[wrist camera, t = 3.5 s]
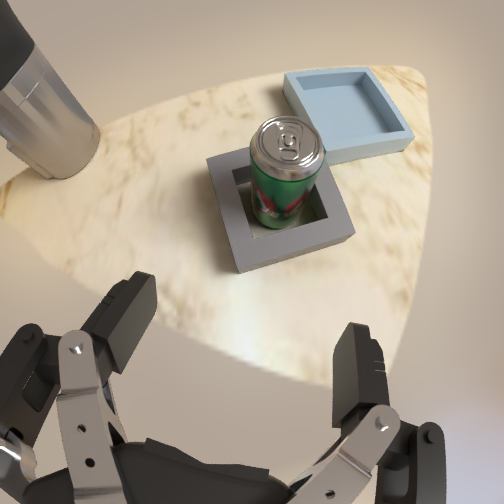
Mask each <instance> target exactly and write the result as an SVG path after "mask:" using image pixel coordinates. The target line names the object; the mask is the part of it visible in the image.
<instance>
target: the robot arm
mask: <svg viewBox="0 0 504 504" xmlns="http://www.w3.org/2000/svg"><path fill="white" fill-rule="evenodd" d="M0 135H1V136H2V137H3V138H5V139H6V140H7V149H8V150H9V151H10V152H12V153H13V154H14V155H15V156H17V157H18V158H19V159H21V160H22V161H24V162H25V163H26V164H27V165H29V166H30V167H31V168H33V169H34V170H36V171H37V172H38V173H40V174H41V175H42V176H44V177H45V178H47V179H50V178H52V177H55V178H57V179H65V178H69V177H71V176H73V175H75V174H76V173H77V172H79V171H80V170H81V169H82V168H83V167H84V166H86V164H87V163H88V162H89V161H90V160H91V158H92V156H93V155H94V153H95V151H96V149H97V147H98V144H99V139H100V133H99V129H98V127H97V125H96V124H95V123H94V122H93V120H92V119H91V117H89V115H88V114H87V113H86V111H85V110H84V109H83V108H82V106H81V105H80V103H79V102H78V101H77V100H76V98H75V97H74V96H73V94H72V93H71V92H70V90H69V89H68V88H67V86H66V85H65V84H64V82H63V81H62V80H61V78H60V77H59V76H58V74H57V73H56V72H55V70H54V69H53V68H52V66H51V65H50V63H49V62H48V61H47V59H46V58H45V57H44V55H43V54H42V52H41V51H40V49H39V48H38V47H37V45H36V44H35V42H34V41H33V40H32V38H31V37H30V35H29V34H28V33H27V31H26V30H25V29H24V27H23V26H22V24H21V23H20V22H19V20H18V19H17V17H16V16H15V14H14V13H13V11H12V9H11V7H10V5H9V4H8V2H7V0H0ZM156 308H157V293H156V282H155V277H154V275H151V274H147V273H144V272H140V271H136V272H135V273H134V274H133V275H132V277H131V278H130V279H129V280H128V281H127V280H124V279H123V280H122V281H120V282H119V283H117V284H115V285H114V286H113V287H112V288H111V289H110V291H109V292H108V293H107V295H106V296H105V297H104V298H103V300H102V301H101V303H99V305H98V306H97V307H96V309H95V310H94V311H93V313H92V314H91V315H90V317H89V318H88V319H87V321H86V322H85V323H84V325H83V326H82V327H81V329H80V330H73V331H70V332H68V333H66V334H65V335H63V336H62V337H61V336H53V335H46V334H44V333H43V331H42V329H41V328H40V327H39V326H38V325H37V324H32V323H31V324H26V325H24V326H22V327H21V328H20V329H19V330H18V331H17V332H16V334H15V335H14V337H13V338H12V339H11V341H10V342H9V344H8V345H7V347H6V348H5V350H4V351H3V353H2V354H1V356H0V488H2V489H3V490H4V491H5V492H6V493H8V494H9V495H10V496H11V497H13V498H14V499H15V500H17V501H18V502H19V503H21V504H351V503H352V502H353V501H354V500H355V499H356V497H357V496H358V495H359V494H360V493H361V491H362V490H363V489H364V488H365V487H366V485H367V484H368V482H369V481H370V479H371V477H372V475H371V474H370V473H371V471H372V469H373V468H374V466H375V465H378V473H377V486H376V496H375V504H446V455H445V440H444V434H443V431H442V429H441V428H440V426H438V425H437V424H436V423H433V422H426V423H424V424H422V425H421V426H420V427H418V426H415V425H412V424H409V423H407V422H404V421H402V420H400V418H399V415H398V414H397V412H396V411H395V410H394V409H393V408H391V407H390V403H389V394H388V385H387V378H386V372H385V364H384V357H383V351H382V349H381V347H380V345H379V343H378V342H377V340H375V339H371V337H370V331H369V327H368V326H367V325H363V324H358V323H352V322H350V323H349V324H348V325H347V327H346V329H345V331H344V332H343V334H342V336H341V338H340V339H339V341H338V343H337V344H336V346H335V349H334V353H333V412H332V427H333V428H341V435H340V436H339V437H338V438H337V439H336V440H335V441H334V442H333V443H332V444H331V446H330V447H329V448H328V449H327V450H326V451H325V452H324V453H323V454H322V455H321V456H320V457H319V458H318V459H317V460H316V461H315V462H314V463H313V464H312V465H311V466H310V467H309V468H308V469H307V470H305V471H304V472H303V473H302V474H300V475H299V476H298V477H297V478H296V479H294V481H292V482H291V483H290V484H289V485H288V486H287V485H286V484H285V483H283V482H282V481H280V480H278V479H277V478H275V477H273V476H271V475H269V469H263V468H256V467H251V466H245V465H240V464H204V463H202V462H200V461H198V460H196V459H195V458H193V457H191V456H189V455H187V454H186V453H184V452H182V451H181V450H179V449H177V448H175V447H172V446H169V445H166V444H163V443H160V442H158V441H155V440H152V439H150V438H147V439H146V442H128V441H127V438H126V434H125V432H124V429H123V427H122V424H121V422H120V420H119V417H118V413H117V409H116V405H115V401H114V397H113V393H112V389H111V384H110V379H109V377H110V375H111V373H112V371H114V372H116V373H119V374H122V372H123V370H124V368H125V366H126V364H127V362H128V361H129V359H130V357H131V355H132V354H133V351H134V350H135V348H136V346H137V345H138V342H139V341H140V339H141V337H142V336H143V334H144V332H145V330H146V328H147V327H148V325H149V323H150V322H151V320H152V318H153V316H154V315H155V312H156ZM32 372H33V373H32ZM30 376H31V377H30ZM29 377H30V378H29ZM28 379H29V380H28ZM25 384H26V385H25ZM24 386H25V387H24ZM23 388H24V389H23ZM60 389H61V394H58V392H59V390H60ZM57 394H58V395H57ZM56 396H57V399H56V402H57V411H58V418H59V425H60V431H61V436H62V441H63V446H64V451H65V455H66V460H67V464H68V467H67V468H64V469H62V470H59V471H57V472H54V473H52V474H49V475H46V476H44V477H41V478H38V479H36V477H35V473H34V468H36V466H37V461H36V458H35V454H34V451H33V449H32V448H33V446H34V444H35V441H36V439H37V437H38V434H39V432H40V430H41V427H42V425H43V423H44V421H45V419H46V417H47V415H48V412H49V410H50V408H51V406H52V404H53V402H54V400H55V398H56Z"/></svg>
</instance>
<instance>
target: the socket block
mask: <svg viewBox="0 0 504 504" xmlns="http://www.w3.org/2000/svg"><path fill="white" fill-rule="evenodd" d="M206 161H207V164H208V168H209V171H210V175H211V179H212V182H213V186H214V189H215V193H216V197H217V200H218V204H219V207H220V211H221V214H222V218H223V221H224V225H225V228H226V232H227V235H228V238H229V242H230V245H231V249H232V252H233V256H234V259H235V262H236V266H237V269H238V271H239V273H240V274H241V273H244V272H248V271H251V270H254V269H258V268H261V267H264V266H268V265H271V264H274V263H277V262H281V261H284V260H287V259H291V258H294V257H297V256H300V255H303V254H307V253H310V252H313V251H316V250H320V249H323V248H326V247H329V246H332V245H335V244H339V243H342V242H345V241H346V240H347V239H348V238H350V237H351V236H352V235H353V234H355V233H356V232H355V229H354V227H353V224H352V221H351V219H350V216H349V214H348V211H347V209H346V206H345V204H344V201H343V199H342V196H341V194H340V192H339V189H338V187H337V185H336V182H335V180H334V178H333V175H332V173H331V171H330V169H329V166H328V164H327V162H326V160H325V158H324V162H323V165H322V167H321V169H320V172H319V174H318V176H317V178H316V181H315V183H314V185H313V187H312V190H311V192H310V194H309V196H308V198H309V200H310V203H311V205H312V208H313V211H314V213H315V216H316V219H317V221H315V222H312V223H309V224H305V225H302V226H298V227H295V228H291V229H288V230H284V231H281V232H278V233H274V234H271V235H267V236H264V237H261V238H257V239H254V240H253V237H252V234H251V231H250V227H249V224H248V221H247V218H246V215H245V211H244V208H243V205H242V202H241V199H240V196H239V192H238V189H237V186H236V185H238V184H242V183H245V182H249V181H251V176H250V147H247V148H243V149H239V150H235V151H232V152H228V153H225V154H221V155H217V156H214V157H211V158H207V159H206Z"/></svg>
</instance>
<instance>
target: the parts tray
mask: <svg viewBox="0 0 504 504" xmlns="http://www.w3.org/2000/svg"><path fill="white" fill-rule="evenodd" d="M283 94H284V95H285V97H286V99H287V101H288V103H289V105H290V107H291V109H292V111H293V113H294V115H295V117H299V118H301V119H304V120H306V121H307V122H309V123H310V124H312V125H313V126H314V127H315V128H316V130H317V131H318V132H319V134H320V136H321V139H322V144H323V147H324V152H325V160H326V162H327V164H328V166H331V165H335V164H340V163H344V162H349V161H354V160H359V159H364V158H369V157H374V156H379V155H385V154H390V153H396V152H401V151H404V149H405V148H406V147H407V146H408V145H409V144H410V142H411V141H412V140H413V139H414V138H415V136H414V134H413V132H412V131H411V129H410V127H409V126H408V124H407V122H406V121H405V119H404V118H403V116H402V114H401V113H400V111H399V110H398V108H397V107H396V105H395V104H394V102H393V101H392V99H391V98H390V96H389V95H388V93H387V92H386V90H385V89H384V88H383V86H382V85H381V83H380V82H379V81H378V79H377V78H376V77H375V75H374V74H373V73H372V71H371V70H370V69H369V68H368V67H344V68H328V69H317V70H307V71H298V72H291V73H285V75H284V84H283Z"/></svg>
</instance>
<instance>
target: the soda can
mask: <svg viewBox="0 0 504 504" xmlns="http://www.w3.org/2000/svg"><path fill="white" fill-rule="evenodd" d="M324 158H325V152H324V147H323V144H322V139H321V136H320V134H319V132H318V131H317V130H316V128H315V127H314V126H313V125H312V124H310V123H309V122H307V121H306V120H304V119H301V118H299V117H295V116H289V115H283V116H276V117H273V118H270V119H269V120H267V121H265V122H264V123H263V124H262V125H261V126H260V127H259V129H258V130H257V132H256V133H255V134H254V136H253V137H252V139H251V142H250V176H251V201H252V210H253V213H254V215H255V217H256V218H257V219H258V220H259V221H260V222H261V223H262V224H264V225H266V226H268V227H271V228H285V227H288V226H290V225H292V224H293V223H294V222H295V221H296V220H297V219H298V218H299V216H300V214H301V212H302V210H303V208H304V205H305V203H306V201H307V199H308V196H309V194H310V192H311V190H312V187H313V185H314V183H315V181H316V178H317V176H318V174H319V172H320V169H321V167H322V165H323V162H324Z"/></svg>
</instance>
